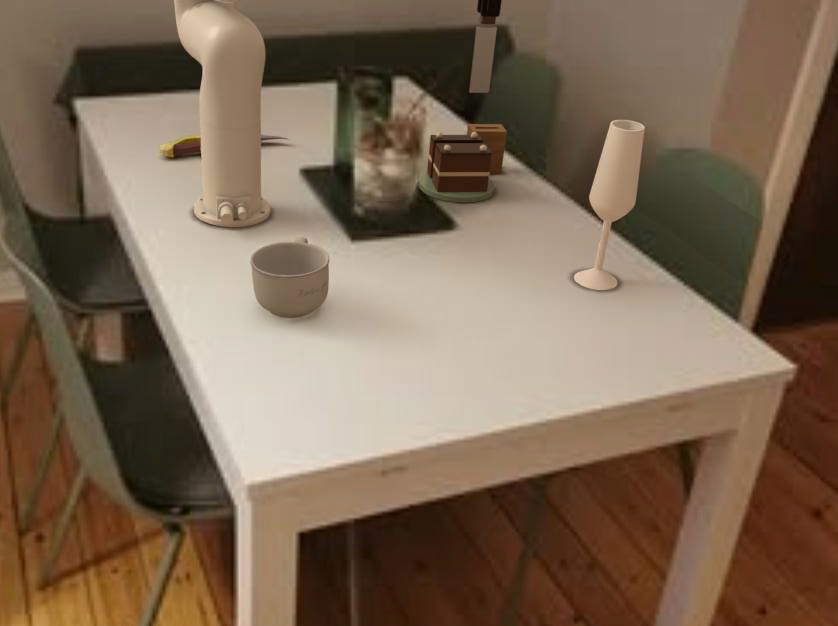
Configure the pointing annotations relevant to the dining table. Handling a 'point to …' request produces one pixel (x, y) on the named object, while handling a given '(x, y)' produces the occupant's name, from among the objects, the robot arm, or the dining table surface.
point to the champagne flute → (613, 191)
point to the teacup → (290, 277)
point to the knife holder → (492, 142)
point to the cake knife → (483, 55)
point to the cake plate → (429, 189)
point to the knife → (193, 145)
